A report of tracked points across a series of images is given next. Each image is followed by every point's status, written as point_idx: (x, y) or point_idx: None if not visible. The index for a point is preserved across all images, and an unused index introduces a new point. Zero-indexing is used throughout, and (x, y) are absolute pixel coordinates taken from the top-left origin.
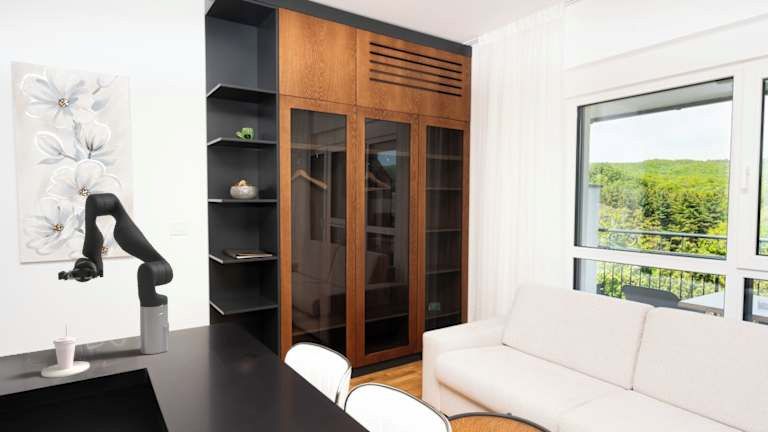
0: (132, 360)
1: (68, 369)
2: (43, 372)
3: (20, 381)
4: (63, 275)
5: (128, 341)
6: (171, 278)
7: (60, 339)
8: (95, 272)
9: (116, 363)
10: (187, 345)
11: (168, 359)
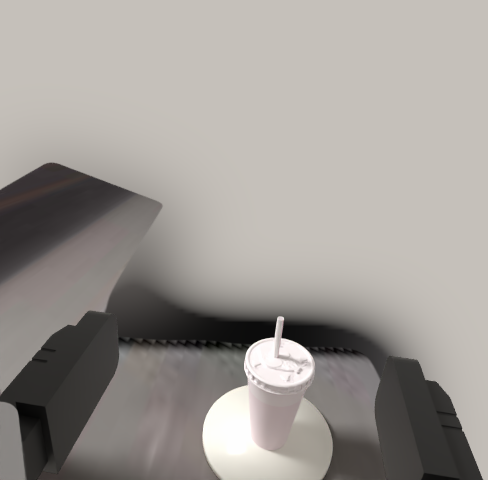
0: None
1: None
2: (324, 428)
3: (369, 417)
4: (431, 384)
5: None
6: None
7: (293, 360)
8: (8, 416)
9: (130, 416)
10: None
11: (9, 367)
